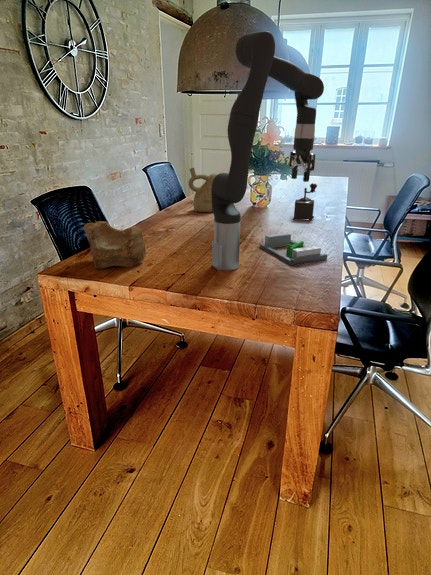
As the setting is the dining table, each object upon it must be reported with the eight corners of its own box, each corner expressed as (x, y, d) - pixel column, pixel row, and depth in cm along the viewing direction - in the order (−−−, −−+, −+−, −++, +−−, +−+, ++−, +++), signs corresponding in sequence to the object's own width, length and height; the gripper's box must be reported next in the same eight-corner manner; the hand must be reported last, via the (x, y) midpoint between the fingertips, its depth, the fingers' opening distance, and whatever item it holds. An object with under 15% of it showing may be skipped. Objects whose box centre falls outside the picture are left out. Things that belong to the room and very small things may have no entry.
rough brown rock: (71, 271, 137) (64, 232, 130) (94, 253, 151) (89, 217, 144) (131, 279, 133) (127, 239, 125) (149, 260, 147) (146, 223, 140)
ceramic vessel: (224, 212, 222) (225, 168, 212) (191, 214, 218) (190, 169, 208) (217, 207, 238) (217, 165, 227) (186, 208, 233) (185, 166, 223)
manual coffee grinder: (313, 220, 206) (317, 187, 199) (293, 219, 209) (296, 186, 201) (313, 214, 220) (317, 182, 213) (294, 213, 222) (297, 182, 215)
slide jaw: (268, 248, 160) (268, 237, 158) (264, 246, 163) (265, 235, 161) (290, 245, 164) (291, 234, 162) (286, 243, 167) (287, 232, 165)
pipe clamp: (294, 250, 159) (295, 240, 157) (302, 252, 157) (303, 241, 155) (282, 257, 151) (283, 246, 149) (291, 259, 149) (292, 248, 147)
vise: (292, 265, 141) (293, 253, 139) (259, 247, 162) (260, 235, 160) (326, 260, 147) (328, 248, 145) (291, 243, 168) (292, 232, 166)
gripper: (286, 136, 151) (282, 178, 157) (306, 137, 138) (301, 183, 145) (302, 136, 153) (297, 177, 160) (323, 137, 141) (318, 182, 148)
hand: (299, 180), depth 152 cm, fingers open, 8 cm apart
